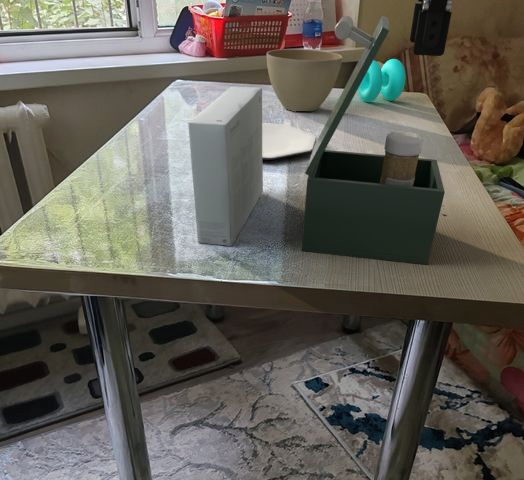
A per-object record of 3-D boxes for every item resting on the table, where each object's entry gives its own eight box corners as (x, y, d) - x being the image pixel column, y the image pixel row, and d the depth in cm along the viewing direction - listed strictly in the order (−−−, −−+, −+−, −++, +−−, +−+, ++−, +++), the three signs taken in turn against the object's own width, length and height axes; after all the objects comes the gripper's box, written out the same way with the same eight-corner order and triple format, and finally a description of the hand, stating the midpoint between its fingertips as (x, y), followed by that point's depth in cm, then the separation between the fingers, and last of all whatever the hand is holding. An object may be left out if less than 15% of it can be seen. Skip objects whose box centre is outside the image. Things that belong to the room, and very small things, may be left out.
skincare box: (231, 189, 91) (231, 84, 81) (263, 192, 90) (266, 87, 80) (192, 243, 74) (186, 119, 65) (231, 247, 73) (231, 123, 64)
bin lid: (388, 18, 67) (351, -4, 66) (389, 30, 57) (345, 4, 56) (319, 147, 77) (287, 129, 77) (310, 176, 67) (272, 156, 67)
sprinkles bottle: (374, 225, 79) (390, 128, 71) (406, 231, 77) (426, 133, 69) (367, 238, 75) (383, 137, 67) (400, 244, 74) (421, 142, 66)
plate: (268, 124, 124) (268, 117, 123) (338, 152, 109) (339, 144, 108) (176, 138, 113) (176, 131, 112) (240, 172, 98) (240, 163, 97)
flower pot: (349, 114, 134) (356, 59, 126) (282, 119, 128) (285, 61, 121) (316, 98, 147) (320, 47, 140) (254, 102, 141) (255, 49, 134)
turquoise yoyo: (352, 97, 149) (357, 56, 143) (383, 96, 152) (389, 55, 146) (370, 106, 142) (376, 63, 136) (403, 104, 145) (410, 62, 139)
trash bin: (422, 226, 81) (436, 159, 75) (427, 264, 71) (444, 191, 65) (311, 214, 83) (317, 149, 77) (301, 251, 73) (307, 178, 67)
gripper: (517, -169, 45) (468, 62, 55) (486, -142, 59) (451, 39, 69) (424, -168, 46) (393, 59, 56) (415, -142, 60) (391, 37, 70)
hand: (425, 48), depth 63 cm, fingers open, 9 cm apart
